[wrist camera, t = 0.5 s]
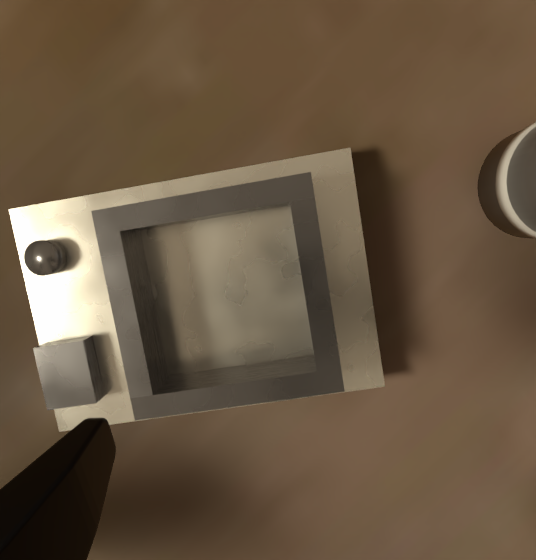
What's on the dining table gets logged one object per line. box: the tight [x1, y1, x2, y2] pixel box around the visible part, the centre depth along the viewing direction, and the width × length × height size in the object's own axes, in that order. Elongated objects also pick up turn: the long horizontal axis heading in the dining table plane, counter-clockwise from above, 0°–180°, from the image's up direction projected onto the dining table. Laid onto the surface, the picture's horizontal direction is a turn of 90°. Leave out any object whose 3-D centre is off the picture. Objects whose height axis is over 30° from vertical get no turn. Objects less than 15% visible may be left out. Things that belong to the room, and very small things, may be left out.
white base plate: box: [9, 148, 385, 432], centre depth 21 cm, size 11×16×4 cm
